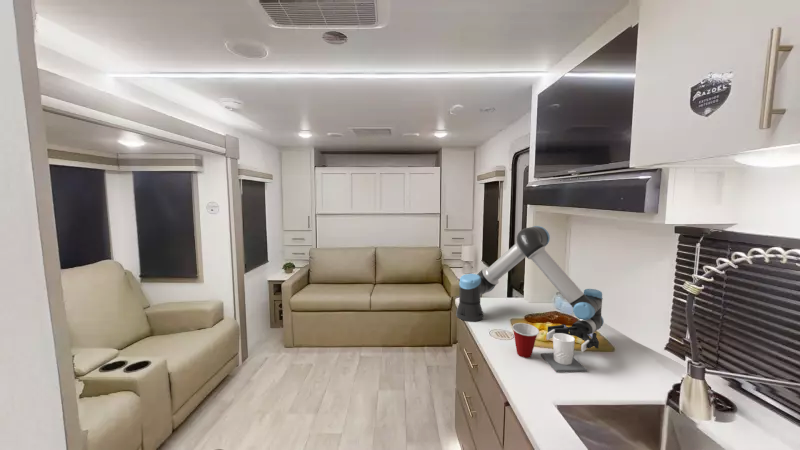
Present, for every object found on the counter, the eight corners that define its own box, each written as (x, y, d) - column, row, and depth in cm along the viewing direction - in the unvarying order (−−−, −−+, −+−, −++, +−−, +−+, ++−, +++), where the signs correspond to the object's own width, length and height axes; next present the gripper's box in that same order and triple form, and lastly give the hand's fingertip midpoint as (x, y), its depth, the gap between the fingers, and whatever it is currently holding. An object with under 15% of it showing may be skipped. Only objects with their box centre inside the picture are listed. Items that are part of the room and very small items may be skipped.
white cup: (562, 367, 123) (563, 342, 122) (547, 357, 131) (548, 334, 130) (578, 364, 125) (579, 340, 124) (563, 354, 133) (564, 332, 132)
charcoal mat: (540, 355, 134) (540, 353, 134) (568, 355, 134) (568, 352, 134) (556, 372, 121) (556, 369, 121) (586, 371, 122) (587, 369, 121)
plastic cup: (520, 362, 128) (521, 334, 127) (506, 350, 139) (507, 324, 138) (543, 360, 130) (544, 332, 129) (528, 347, 141) (529, 322, 140)
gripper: (555, 312, 151) (534, 324, 137) (616, 328, 132) (599, 344, 118) (555, 327, 151) (533, 340, 138) (615, 345, 132) (598, 363, 119)
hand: (564, 342), depth 128 cm, fingers open, 13 cm apart
